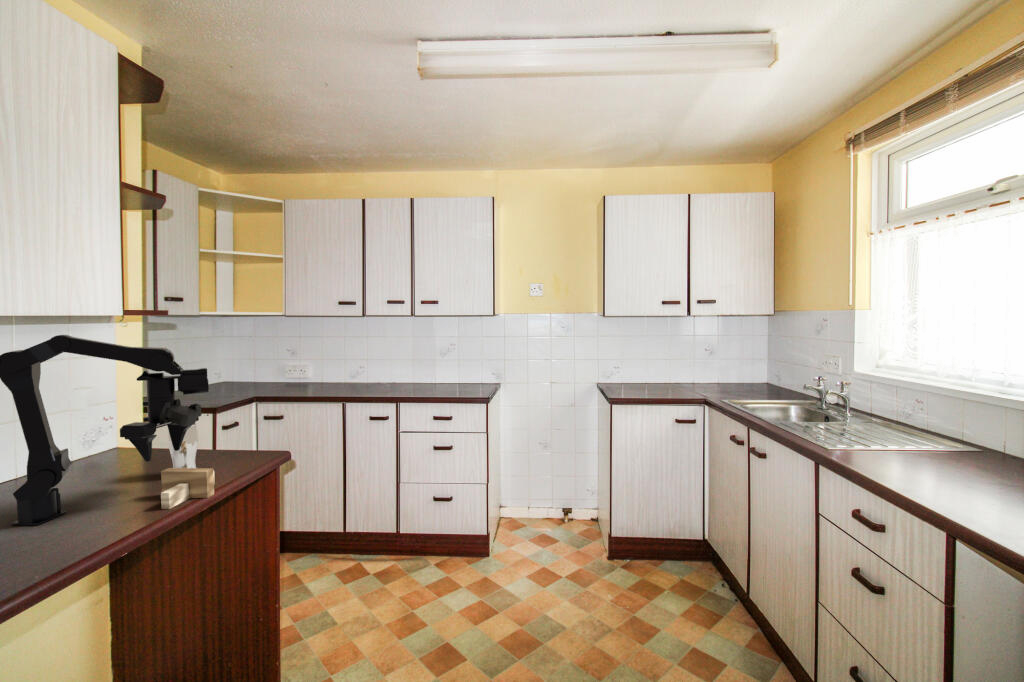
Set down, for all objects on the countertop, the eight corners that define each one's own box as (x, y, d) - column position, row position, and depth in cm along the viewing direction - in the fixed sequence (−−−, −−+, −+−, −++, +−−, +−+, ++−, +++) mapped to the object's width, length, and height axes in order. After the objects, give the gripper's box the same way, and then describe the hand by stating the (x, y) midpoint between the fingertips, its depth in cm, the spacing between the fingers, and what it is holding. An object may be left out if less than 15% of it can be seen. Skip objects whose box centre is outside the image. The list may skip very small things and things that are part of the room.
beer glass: (194, 477, 130) (191, 427, 129) (165, 480, 128) (163, 429, 127) (202, 470, 136) (200, 421, 135) (175, 472, 134) (173, 423, 133)
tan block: (207, 498, 115) (206, 471, 115) (162, 497, 116) (161, 471, 115) (214, 494, 118) (213, 468, 117) (169, 493, 118) (168, 468, 118)
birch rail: (169, 509, 109) (168, 493, 108) (161, 508, 109) (160, 492, 108) (214, 484, 125) (214, 470, 124) (207, 484, 125) (207, 470, 124)
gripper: (162, 403, 105) (164, 468, 106) (216, 391, 124) (218, 446, 125) (116, 403, 106) (118, 467, 107) (177, 390, 124) (179, 445, 125)
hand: (163, 455), depth 116 cm, fingers open, 9 cm apart
